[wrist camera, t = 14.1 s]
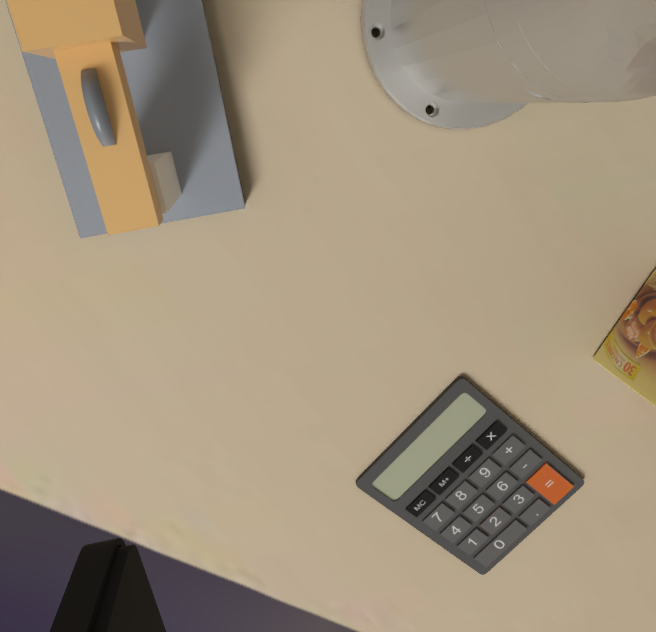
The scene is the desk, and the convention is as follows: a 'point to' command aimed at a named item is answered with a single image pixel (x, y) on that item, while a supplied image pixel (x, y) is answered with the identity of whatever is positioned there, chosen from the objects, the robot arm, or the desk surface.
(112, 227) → the tan bar with handles
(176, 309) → the desk surface
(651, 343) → the candy box
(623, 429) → the desk surface
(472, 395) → the calculator
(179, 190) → the display stand
